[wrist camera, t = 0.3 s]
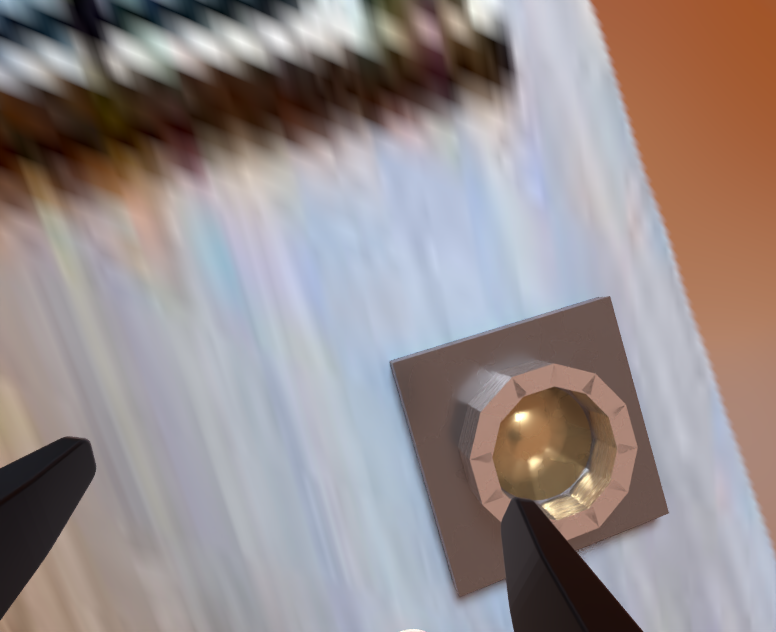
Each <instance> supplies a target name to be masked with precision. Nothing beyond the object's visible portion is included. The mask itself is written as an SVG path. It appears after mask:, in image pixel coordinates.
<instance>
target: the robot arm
mask: <svg viewBox="0 0 776 632" xmlns="http://www.w3.org/2000/svg"><path fill="white" fill-rule="evenodd" d="M95 472H96V463H95V459H94V455H93V451H92V447H91V443H90V441H89V440H88V439H85V438H78V437H70V436H69V437H63V438H61V439H59V440H57V441H55V442H53V443H51V444H49V445H47V446H44V447H42V448H40V449H38V450H36V451H34V452H32V453H30V454H28V455H26V456H24V457H22V458H20V459H18V460H16V461H14V462H12V463H10V464H8V465H6V466H4V467H2V468H0V620H1V619H2V617H3V616H4V615H5V613H6V612H7V610H8V609H9V608H10V606H11V605H12V603H13V602H14V601H15V599H16V598H17V596H18V595H19V594H20V592H21V591H22V590H23V588H24V587H25V585H26V584H27V583H28V581H29V580H30V578H31V577H32V576H33V574H34V573H35V572H36V570H37V569H38V567H39V566H40V564H41V563H42V562H43V560H44V559H45V557H46V556H47V554H48V553H49V551H50V550H51V548H52V546H53V545H54V543H55V542H56V540H57V538H58V537H59V535H60V533H61V532H62V530H63V528H64V527H65V525H66V523H67V522H68V520H69V518H70V517H71V515H72V513H73V511H74V510H75V508H76V506H77V505H78V503H79V501H80V500H81V498H82V496H83V495H84V493H85V491H86V490H87V488H88V486H89V485H90V483H91V481H92V479H93V478H94V475H95ZM501 539H502V548H503V557H504V566H505V574H506V583H507V592H508V600H509V607H510V613H511V619H512V624H513V629H514V632H643V631H642V630H641V628H640V627H639V626H638V625H637V624H636V622H635V621H634V620H633V619H632V618H631V616H630V615H629V614H628V613H627V612H626V610H625V609H624V608H623V607H622V606H621V604H620V603H619V602H618V601H617V600H616V598H615V597H614V596H613V595H612V594H611V592H610V591H609V590H608V589H607V588H606V586H605V585H604V584H603V583H602V582H601V581H600V579H599V578H598V577H597V576H596V575H595V573H594V572H593V571H592V570H591V569H590V567H589V566H588V565H587V564H586V563H585V561H584V560H583V559H582V558H581V557H580V555H579V554H578V553H577V552H576V551H575V549H574V548H573V547H572V546H571V545H570V543H569V542H568V541H567V540H566V539H565V537H564V536H563V535H562V534H561V533H560V531H559V530H558V529H557V528H556V527H555V526H554V524H553V523H552V522H551V521H550V520H549V518H548V517H547V516H546V515H545V514H544V512H543V511H542V510H541V509H540V508H539V506H538V505H537V504H536V503H535V502H534V501H533V500H531V499H528V498H521V497H514V498H512V499H511V501H510V503H509V505H508V507H507V510H506V512H505V514H504V516H503V518H502V521H501Z"/></svg>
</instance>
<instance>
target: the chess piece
mask: <svg viewBox="0 0 776 632" xmlns="http://www.w3.org/2000/svg"><path fill="white" fill-rule="evenodd" d="M400 632H426V631H423V630H418V629H409V630H403V631H400Z"/></svg>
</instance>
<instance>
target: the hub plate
mask: <svg viewBox="0 0 776 632" xmlns="http://www.w3.org/2000/svg"><path fill="white" fill-rule="evenodd" d="M390 364H391V368H392V371H393V375H394V378H395V382H396V385H397V389H398V392H399V396H400V399H401V402H402V406H403V409H404V413H405V416H406V420H407V423H408V427H409V430H410V434H411V437H412V441H413V444H414V448H415V451H416V455H417V458H418V462H419V465H420V469H421V472H422V475H423V479H424V482H425V486H426V489H427V493H428V496H429V500H430V503H431V507H432V510H433V514H434V517H435V521H436V524H437V528H438V531H439V535H440V538H441V542H442V545H443V548H444V552H445V555H446V559H447V562H448V566H449V569H450V573H451V576H452V580H453V583H454V585H455V588H456V590H457V592H458V594H459V597H461V596H463V595H466V594H468V593H471V592H473V591H476V590H478V589H481V588H483V587H486V586H488V585H491V584H493V583H496V582H498V581H501V580H503V579H506V574H505V566H504V557H503V548H502V539H501V521H502V518H503V516H504V514H505V512H506V510H507V507H508V505H509V503H510V501H511V499H512V498H514V497H521V498H528V499H531V500H533V501H534V502H535V503H536V504H537V505H538V506H539V508H540V509H541V510H542V511H543V512H544V514H545V515H546V516H547V517H548V518H549V520H550V521H551V522H552V523H553V524H554V526H555V527H556V528H557V529H558V530H559V531H560V533H561V534H562V535H563V536H564V537H565V539H566V540H567V541H568V542H569V543H570V545H571V546H572V547H573V548H574V549H575V551H576V550H578V549H581V548H583V547H586V546H588V545H591V544H593V543H596V542H598V541H601V540H603V539H606V538H608V537H611V536H613V535H616V534H618V533H621V532H623V531H626V530H628V529H631V528H633V527H636V526H638V525H641V524H643V523H646V522H648V521H651V520H653V519H656V518H658V517H661V516H663V515H666V514H668V513H669V512H668V508H667V504H666V501H665V497H664V493H663V490H662V486H661V482H660V479H659V475H658V471H657V468H656V464H655V460H654V457H653V453H652V449H651V446H650V442H649V438H648V434H647V431H646V427H645V423H644V420H643V416H642V412H641V409H640V405H639V401H638V398H637V394H636V390H635V387H634V383H633V379H632V376H631V372H630V368H629V364H628V361H627V357H626V353H625V350H624V346H623V342H622V339H621V335H620V331H619V328H618V324H617V320H616V317H615V313H614V309H613V305H612V302H611V298H610V296H608V297H597V298H594V299H590V300H587V301H584V302H580V303H577V304H574V305H571V306H567V307H564V308H561V309H558V310H554V311H551V312H548V313H545V314H541V315H538V316H535V317H532V318H528V319H525V320H522V321H519V322H515V323H512V324H509V325H505V326H502V327H499V328H496V329H492V330H489V331H486V332H483V333H479V334H476V335H473V336H470V337H466V338H463V339H460V340H457V341H453V342H450V343H447V344H443V345H440V346H437V347H434V348H430V349H427V350H424V351H421V352H417V353H414V354H411V355H408V356H404V357H401V358H398V359H395V360H391V361H390Z"/></svg>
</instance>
